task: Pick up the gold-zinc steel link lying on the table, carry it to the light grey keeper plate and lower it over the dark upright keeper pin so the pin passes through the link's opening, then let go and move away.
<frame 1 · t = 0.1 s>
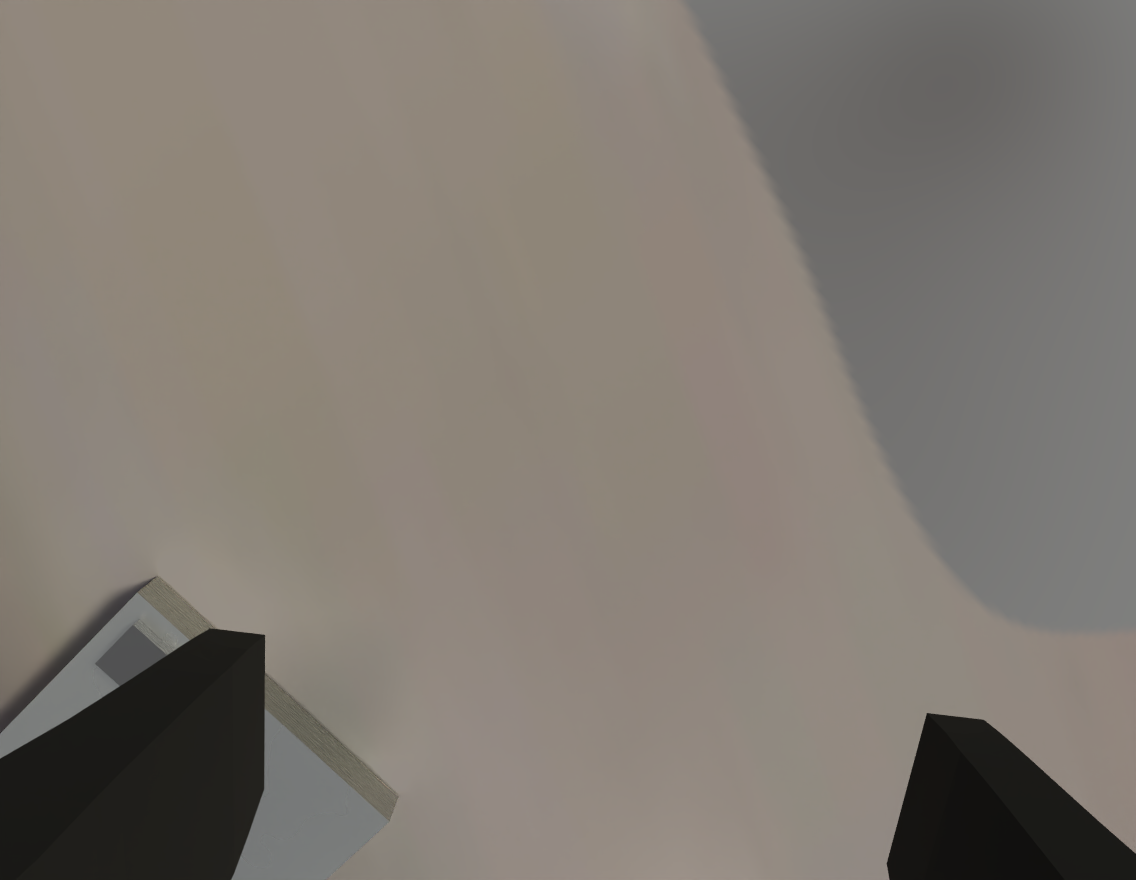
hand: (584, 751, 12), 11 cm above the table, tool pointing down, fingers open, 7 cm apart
keeper plate: (130, 834, 24), on the table
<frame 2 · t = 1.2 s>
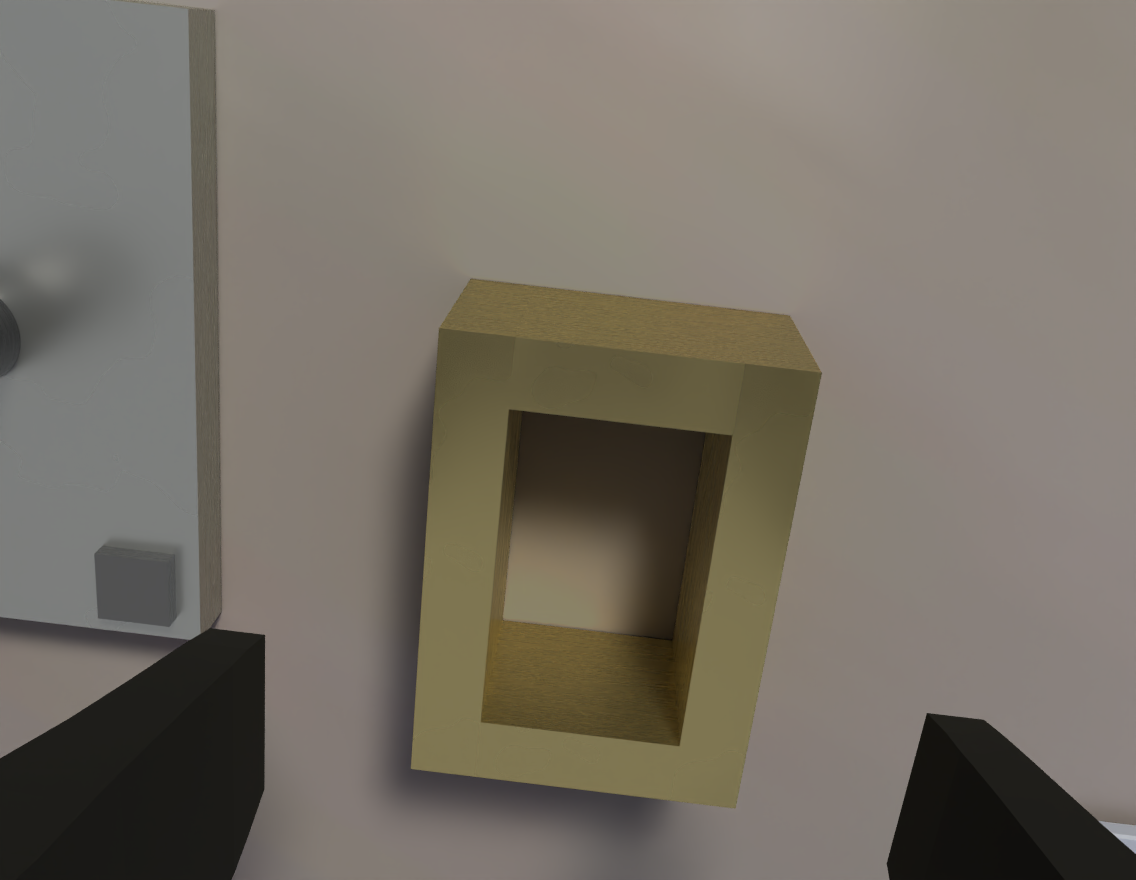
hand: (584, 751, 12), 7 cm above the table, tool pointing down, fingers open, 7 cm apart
keeper plate: (4, 316, 18), on the table
link: (603, 501, 18), on the table
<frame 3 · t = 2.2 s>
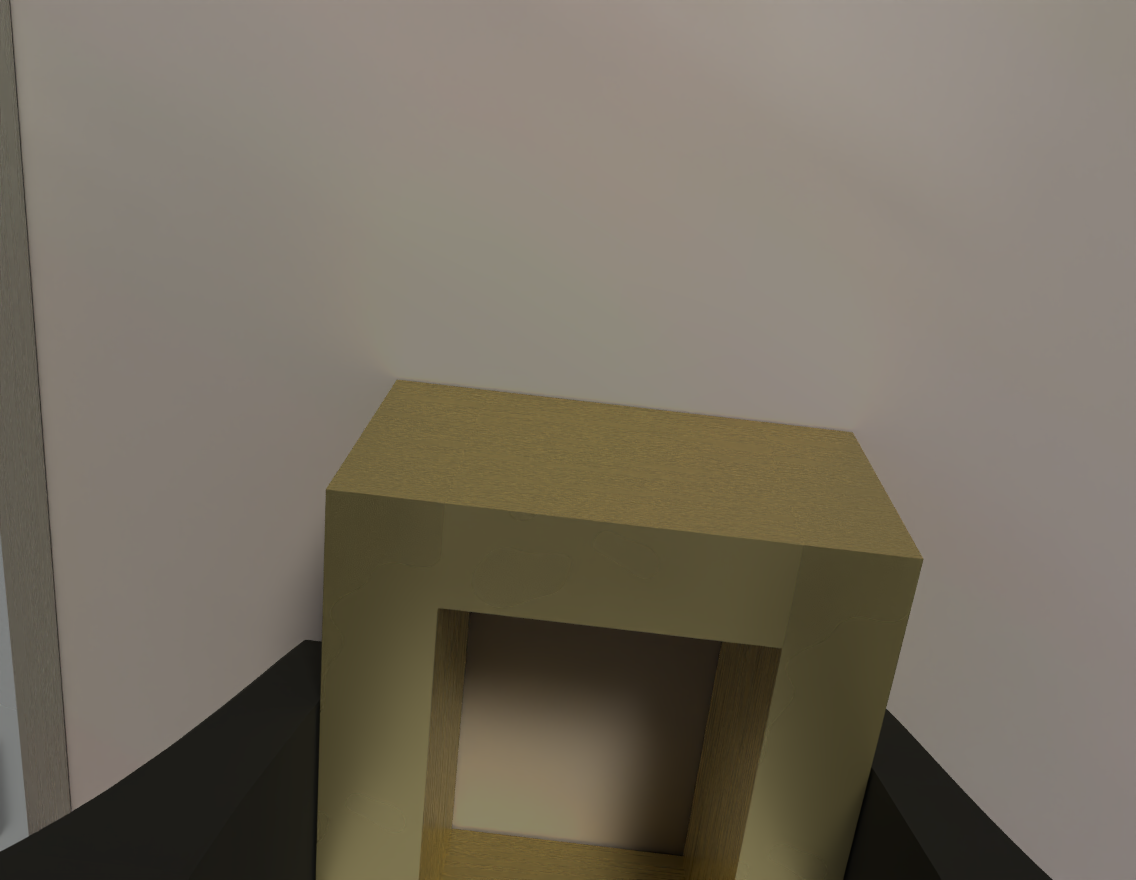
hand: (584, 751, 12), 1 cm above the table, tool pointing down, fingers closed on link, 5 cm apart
link: (588, 678, 13), on the table, touching gripper
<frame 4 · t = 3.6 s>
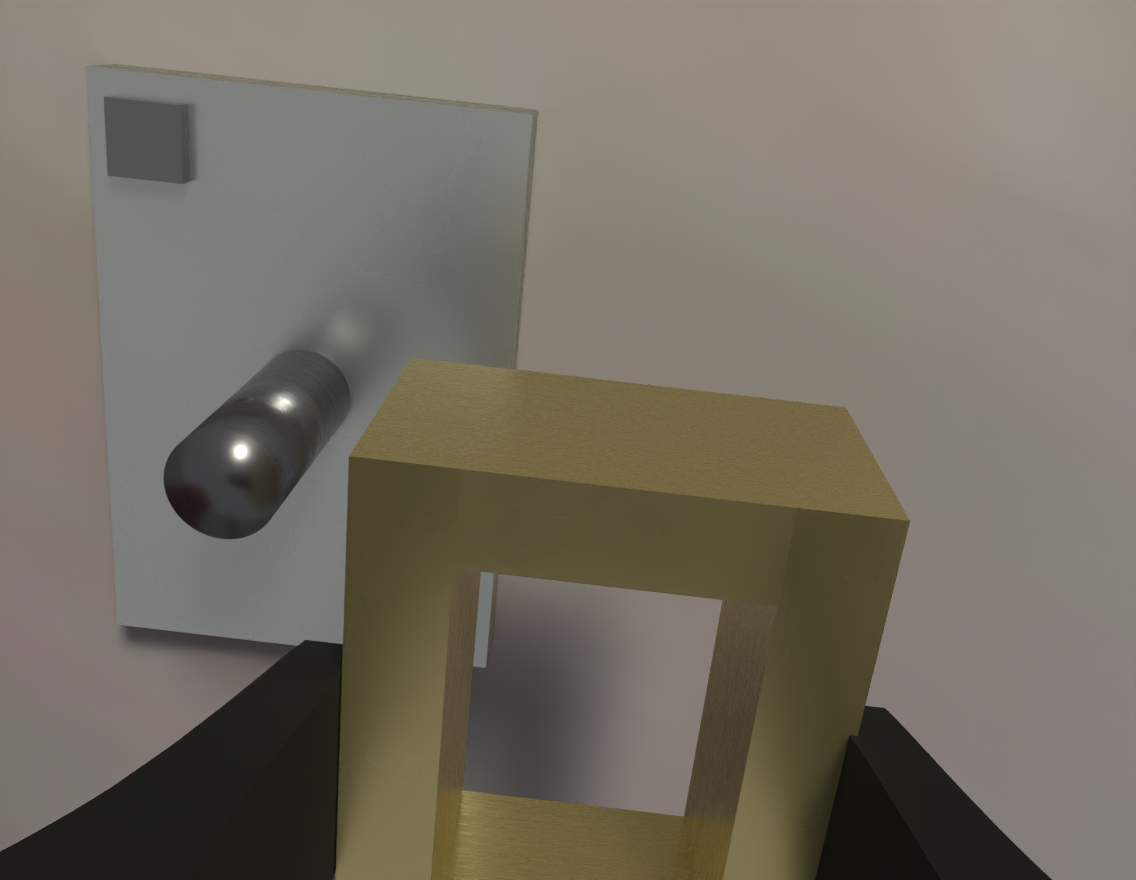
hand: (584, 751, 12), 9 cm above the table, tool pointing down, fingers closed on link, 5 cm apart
keeper plate: (320, 377, 19), on the table
link: (594, 644, 14), point 6 cm above the table, touching gripper
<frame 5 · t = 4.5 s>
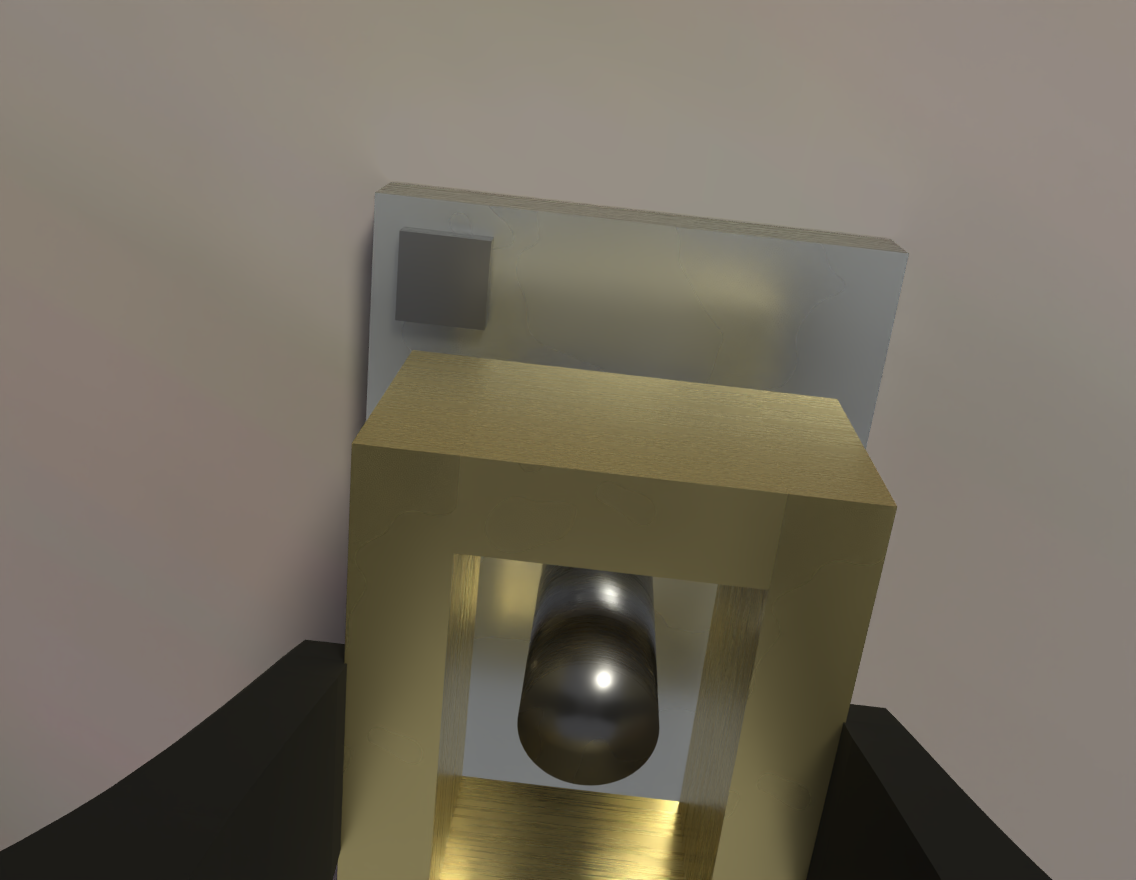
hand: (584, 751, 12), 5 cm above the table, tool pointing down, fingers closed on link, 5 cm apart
keeper plate: (599, 533, 17), on the table
link: (591, 631, 14), point 3 cm above the table, touching gripper
when the fingers open (4 cm above the table, at t = 5.3 s): link stays where it is, resting on keeper plate.
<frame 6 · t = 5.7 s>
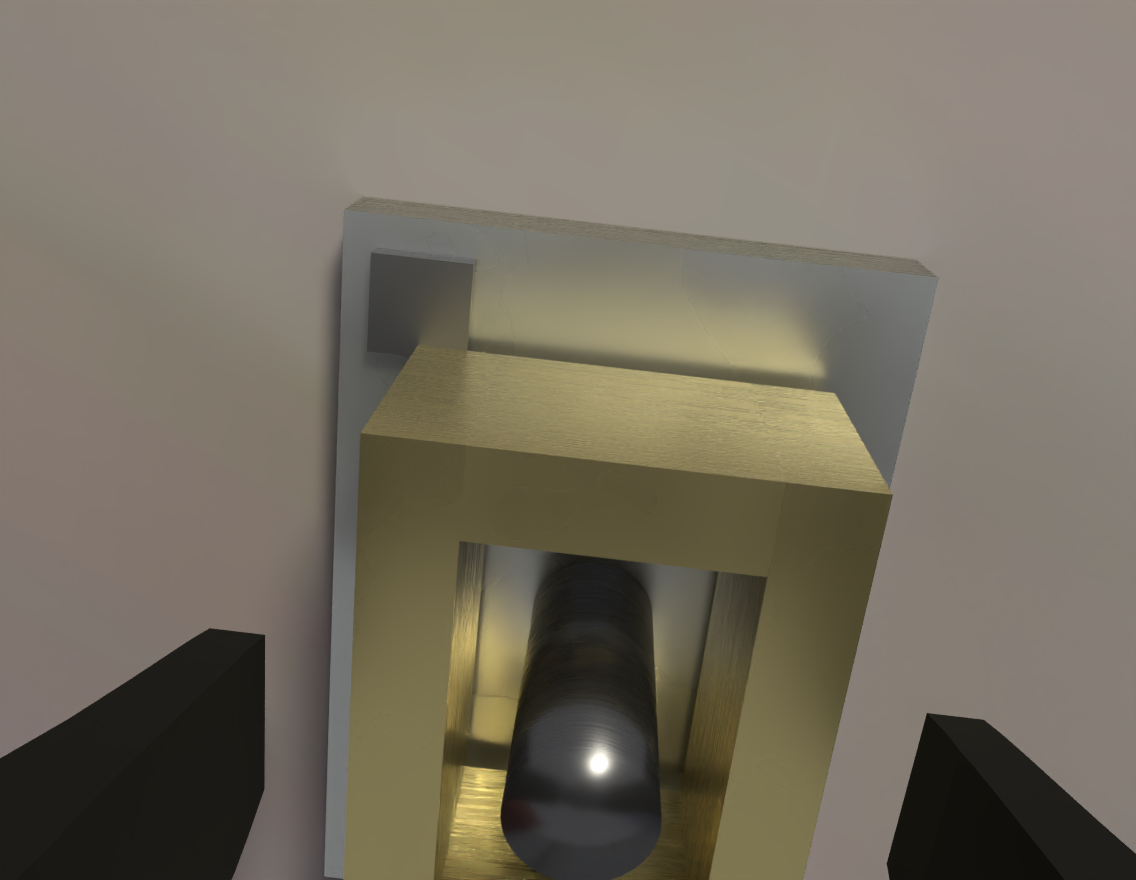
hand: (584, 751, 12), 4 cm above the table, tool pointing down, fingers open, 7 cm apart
keeper plate: (594, 579, 15), on the table
link: (593, 623, 14), point 1 cm above the table, touching keeper plate
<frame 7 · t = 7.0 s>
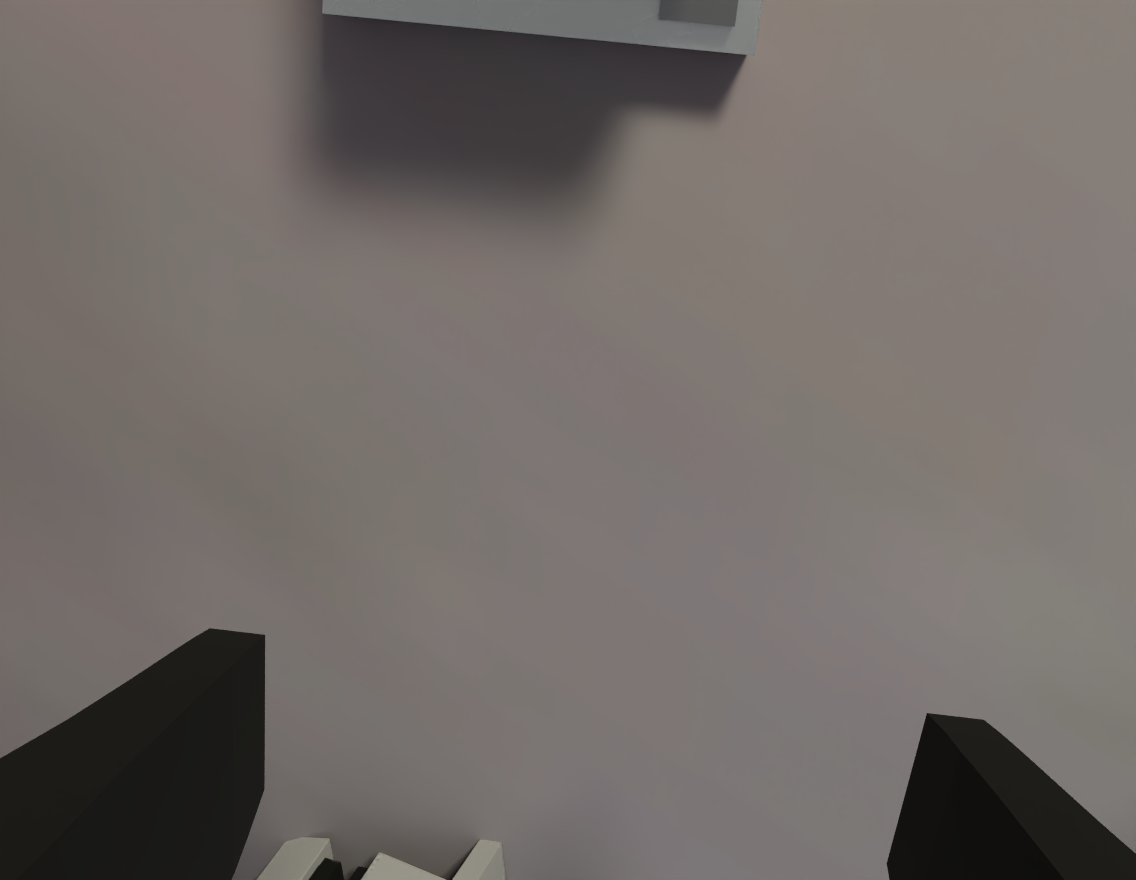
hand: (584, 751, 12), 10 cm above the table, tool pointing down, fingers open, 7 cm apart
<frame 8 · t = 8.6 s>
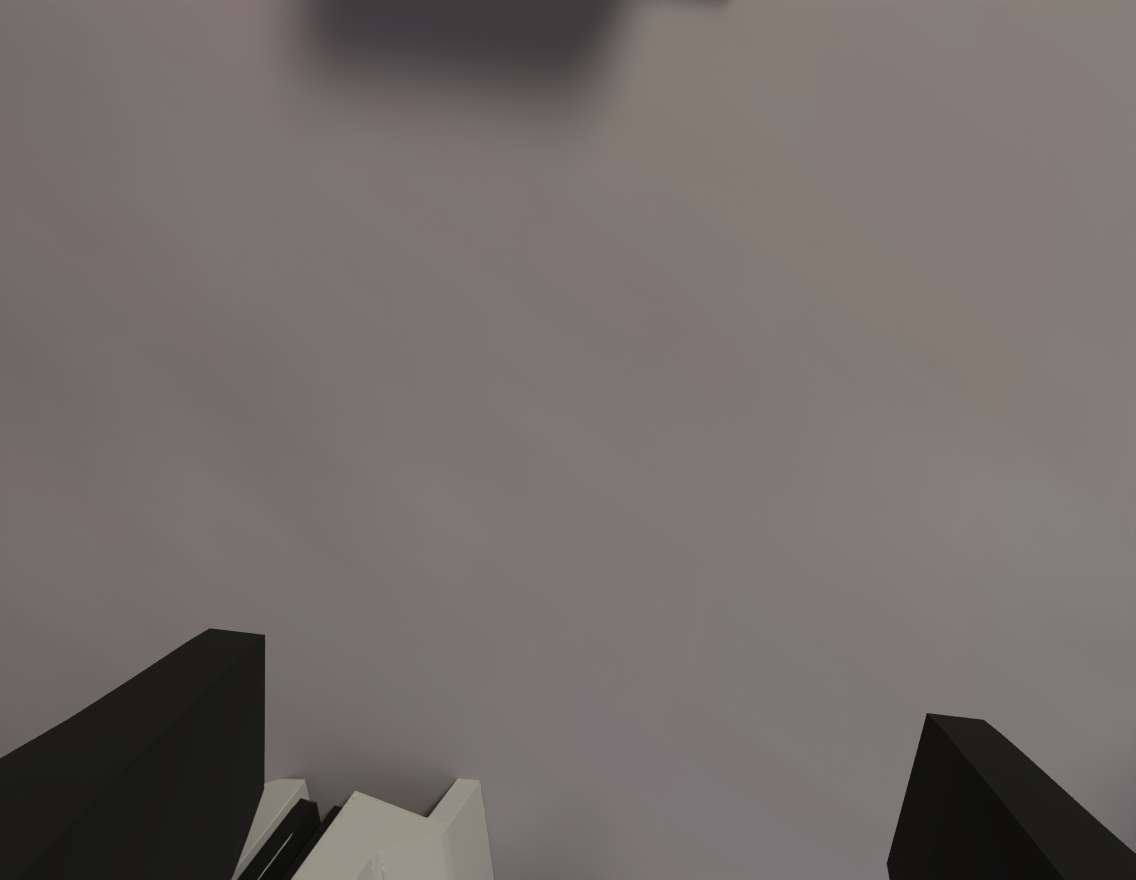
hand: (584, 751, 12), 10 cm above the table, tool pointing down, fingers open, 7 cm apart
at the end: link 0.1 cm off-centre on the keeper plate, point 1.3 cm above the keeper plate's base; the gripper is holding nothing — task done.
